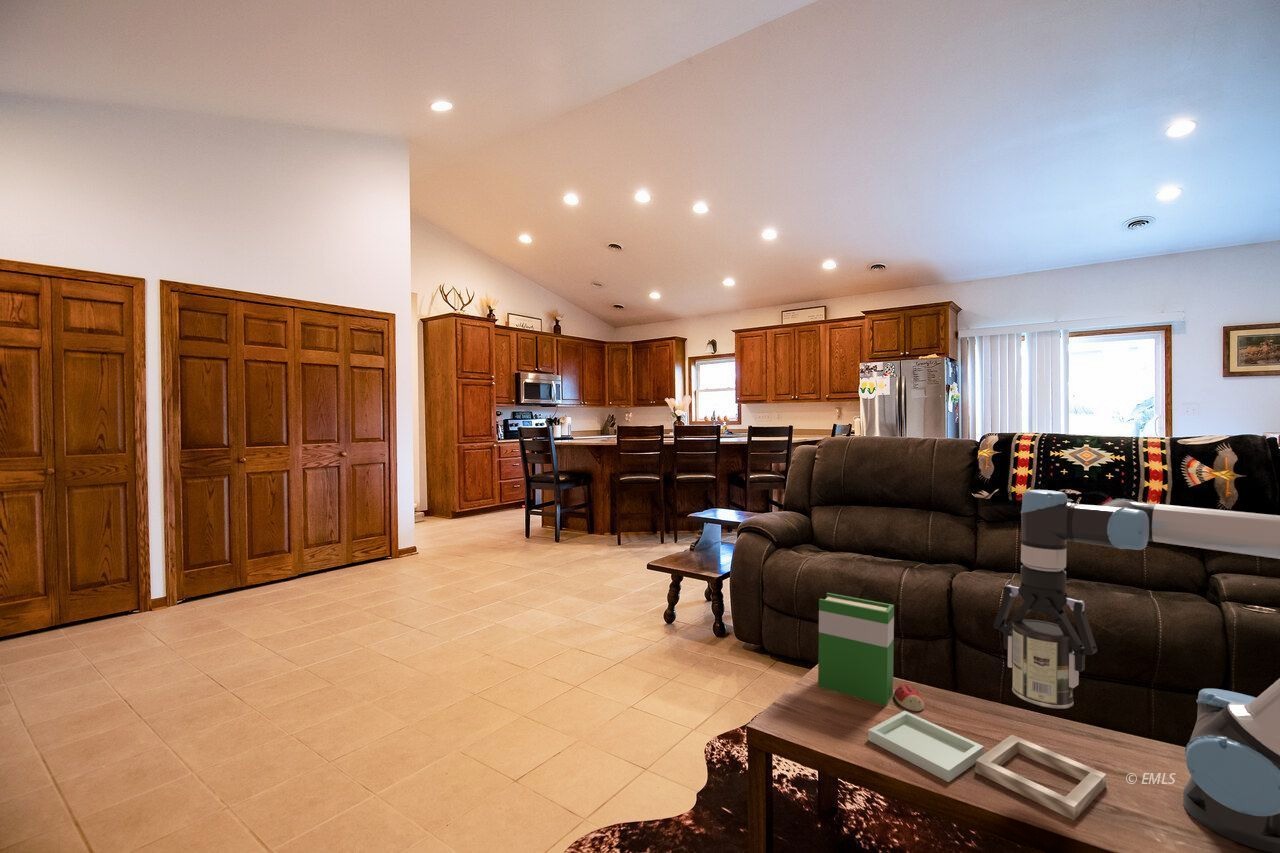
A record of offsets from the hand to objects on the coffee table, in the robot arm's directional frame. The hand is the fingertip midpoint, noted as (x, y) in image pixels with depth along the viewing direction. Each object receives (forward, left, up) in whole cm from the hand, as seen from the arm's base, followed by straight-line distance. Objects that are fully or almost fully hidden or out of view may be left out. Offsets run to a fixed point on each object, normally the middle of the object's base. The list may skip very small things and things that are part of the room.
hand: (1041, 675), depth 114 cm
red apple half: (+32, -8, -22) cm, 40 cm away
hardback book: (+44, -2, -22) cm, 49 cm away
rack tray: (+19, +9, -21) cm, 30 cm away
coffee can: (0, 0, -4) cm, 4 cm away
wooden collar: (0, 0, -21) cm, 21 cm away
